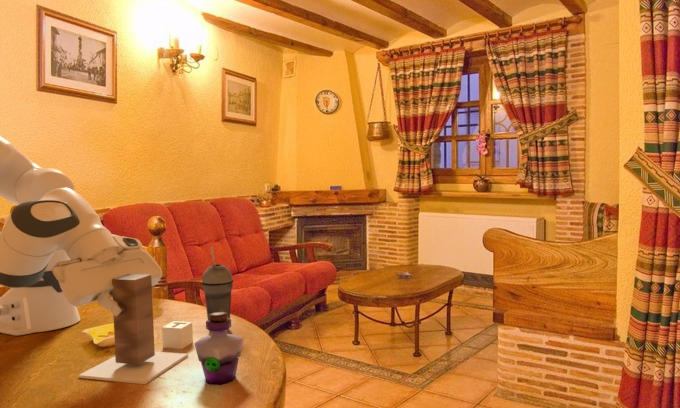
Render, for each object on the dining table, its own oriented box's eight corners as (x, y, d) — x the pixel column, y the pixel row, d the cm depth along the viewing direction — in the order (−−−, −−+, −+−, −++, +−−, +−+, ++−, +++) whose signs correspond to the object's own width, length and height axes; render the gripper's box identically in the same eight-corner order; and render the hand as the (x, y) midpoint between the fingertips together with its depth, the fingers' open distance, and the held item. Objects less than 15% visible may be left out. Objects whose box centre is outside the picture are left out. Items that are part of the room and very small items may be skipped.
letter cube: (163, 347, 110) (162, 326, 109) (174, 341, 114) (173, 320, 114) (181, 349, 108) (181, 327, 108) (192, 342, 113) (192, 321, 113)
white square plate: (78, 377, 94) (78, 375, 94) (128, 351, 107) (128, 349, 107) (145, 384, 90) (145, 381, 90) (188, 356, 104) (187, 353, 104)
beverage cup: (227, 335, 117) (224, 248, 115) (197, 334, 118) (194, 248, 117) (239, 326, 124) (237, 243, 122) (211, 324, 125) (208, 243, 124)
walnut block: (115, 362, 97) (111, 279, 96) (132, 353, 102) (128, 273, 101) (138, 364, 96) (134, 280, 95) (154, 355, 101) (151, 274, 100)
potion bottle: (194, 391, 87) (191, 321, 86) (196, 372, 96) (194, 308, 95) (246, 385, 89) (244, 317, 88) (243, 367, 97) (241, 305, 97)
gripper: (55, 252, 91) (96, 312, 87) (144, 238, 109) (181, 287, 106) (40, 275, 93) (79, 334, 90) (130, 257, 112) (166, 306, 108)
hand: (135, 308), depth 98 cm, fingers closed on walnut block, 5 cm apart
